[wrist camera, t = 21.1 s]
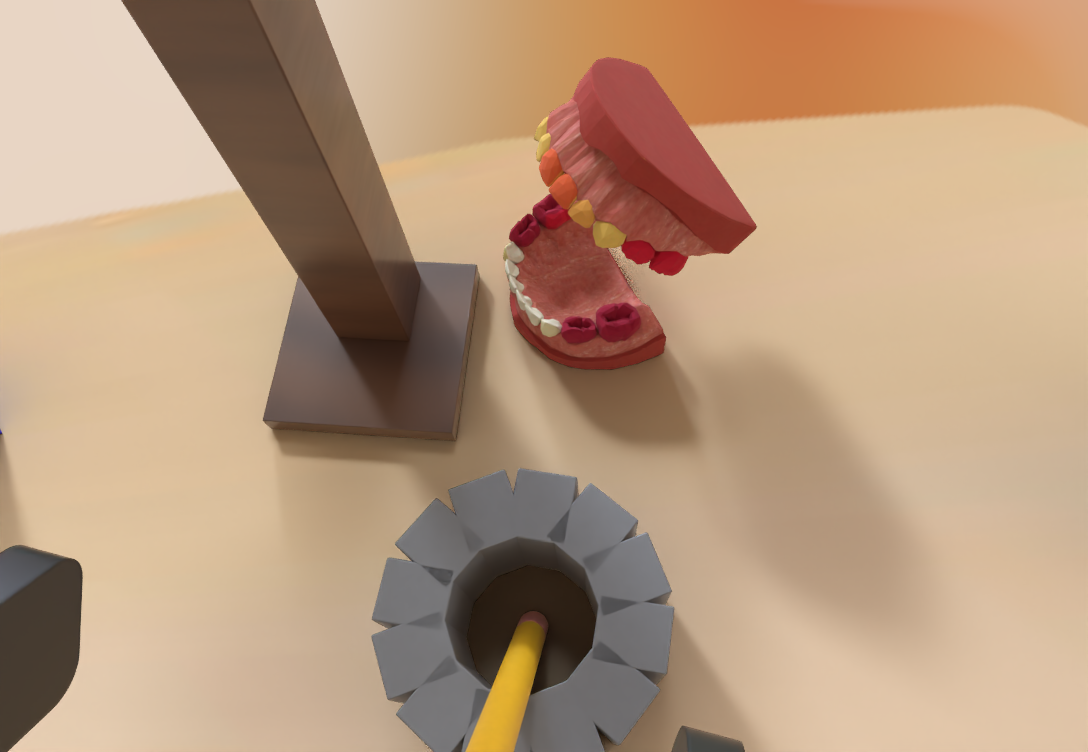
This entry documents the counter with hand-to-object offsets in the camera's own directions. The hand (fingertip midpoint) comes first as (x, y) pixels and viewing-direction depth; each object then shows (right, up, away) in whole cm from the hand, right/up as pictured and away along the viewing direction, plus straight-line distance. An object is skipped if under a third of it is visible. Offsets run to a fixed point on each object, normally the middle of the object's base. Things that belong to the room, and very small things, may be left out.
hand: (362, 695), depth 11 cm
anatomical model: (+6, +9, +35) cm, 37 cm away
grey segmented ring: (+2, -8, +28) cm, 29 cm away
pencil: (+1, -8, +18) cm, 20 cm away
